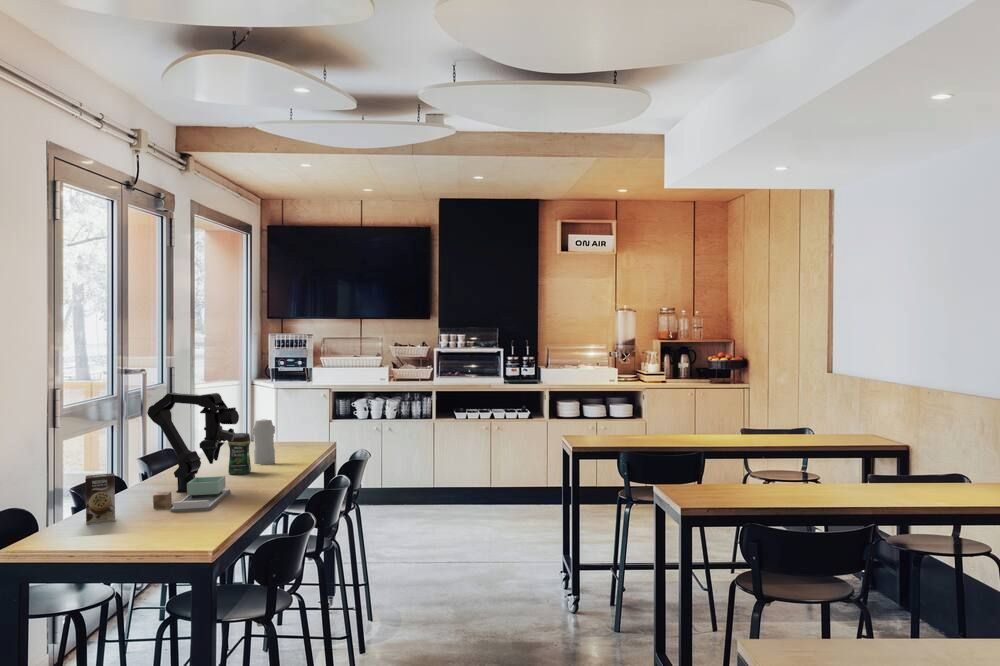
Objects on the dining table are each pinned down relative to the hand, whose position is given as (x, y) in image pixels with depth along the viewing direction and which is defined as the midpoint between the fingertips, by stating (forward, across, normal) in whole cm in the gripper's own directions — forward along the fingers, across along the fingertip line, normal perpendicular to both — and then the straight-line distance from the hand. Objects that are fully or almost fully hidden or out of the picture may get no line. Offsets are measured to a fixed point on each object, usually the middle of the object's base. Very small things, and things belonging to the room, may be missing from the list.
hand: (213, 462), depth 307 cm
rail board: (+12, -18, 0) cm, 22 cm away
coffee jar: (+12, +37, -2) cm, 39 cm away
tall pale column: (+12, +58, -9) cm, 60 cm away
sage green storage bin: (+11, -11, 0) cm, 15 cm away
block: (+12, -23, +13) cm, 29 cm away
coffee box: (+12, -41, +28) cm, 51 cm away
